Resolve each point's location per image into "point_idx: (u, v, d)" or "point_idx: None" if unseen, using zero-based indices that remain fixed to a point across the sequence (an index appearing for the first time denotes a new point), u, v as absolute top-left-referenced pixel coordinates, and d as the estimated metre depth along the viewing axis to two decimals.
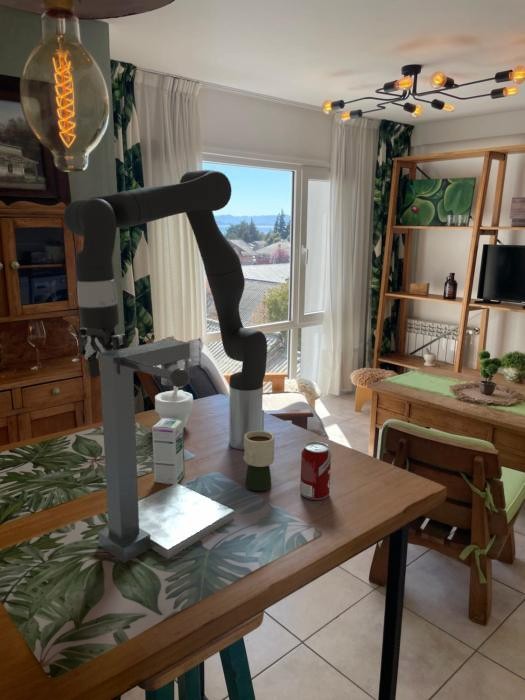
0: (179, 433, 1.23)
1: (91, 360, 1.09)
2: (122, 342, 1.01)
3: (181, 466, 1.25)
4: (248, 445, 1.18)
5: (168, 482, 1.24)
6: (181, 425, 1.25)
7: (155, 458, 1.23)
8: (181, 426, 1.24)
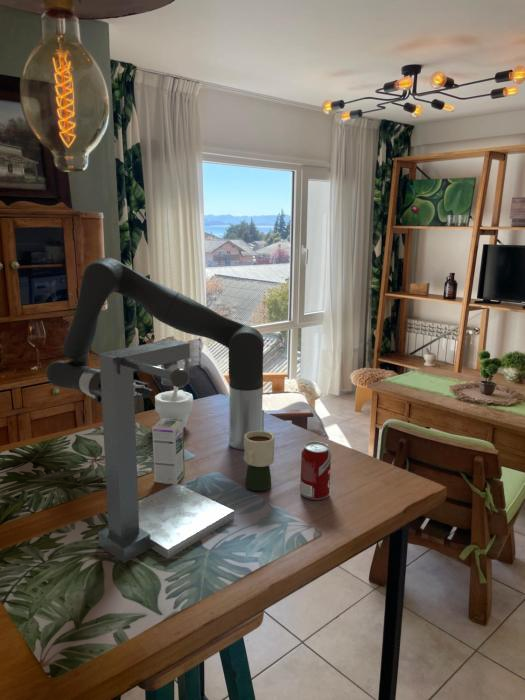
0: (179, 433, 1.23)
1: (141, 393, 1.34)
2: (93, 395, 1.29)
3: (181, 466, 1.25)
4: (248, 445, 1.18)
5: (168, 482, 1.24)
6: (181, 425, 1.25)
7: (155, 458, 1.23)
8: (181, 426, 1.24)
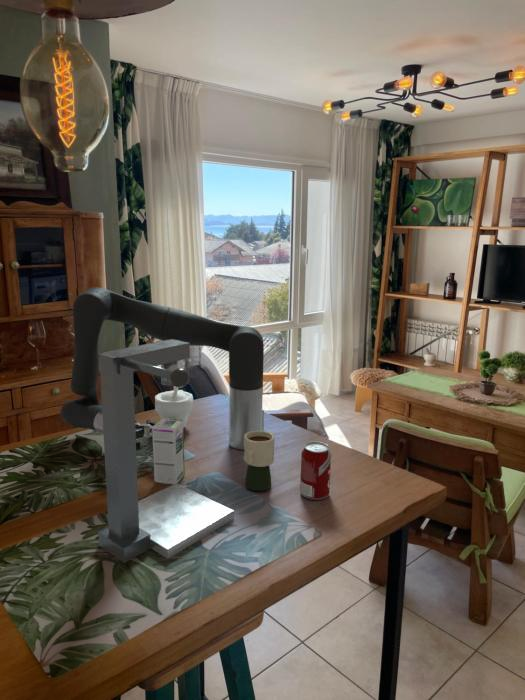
0: (179, 433, 1.23)
1: None
2: None
3: (181, 466, 1.25)
4: (248, 445, 1.18)
5: (168, 482, 1.24)
6: (181, 425, 1.25)
7: (155, 458, 1.23)
8: (181, 426, 1.24)
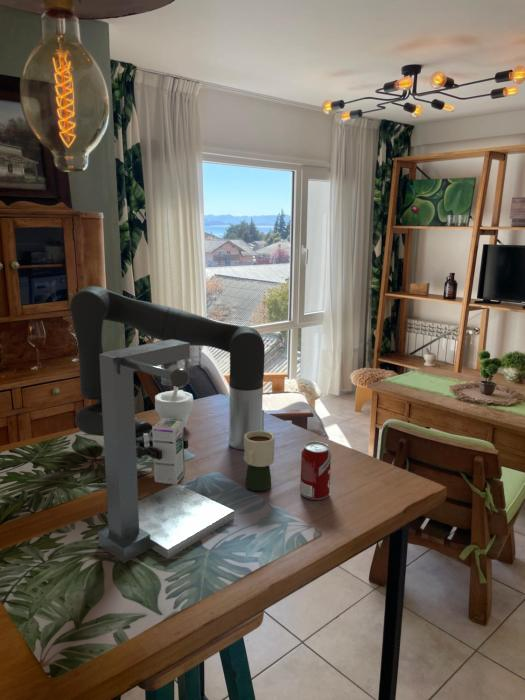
0: (179, 433, 1.23)
1: None
2: None
3: (181, 466, 1.25)
4: (248, 445, 1.18)
5: (168, 482, 1.24)
6: (181, 425, 1.25)
7: None
8: (181, 426, 1.24)
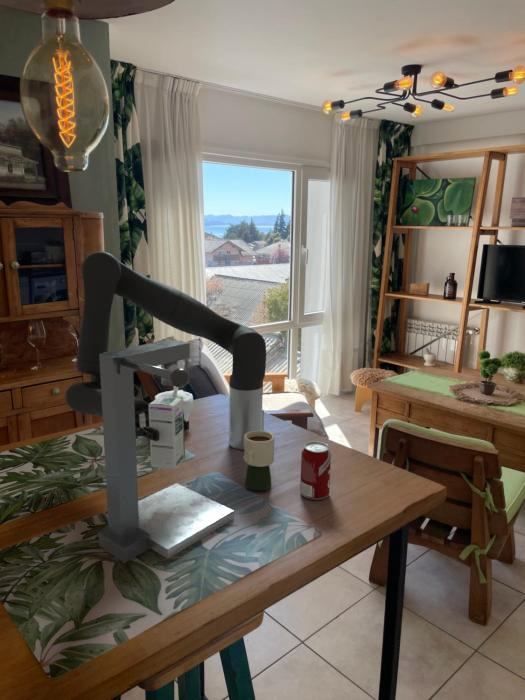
0: (178, 412, 1.09)
1: None
2: None
3: (181, 450, 1.12)
4: (248, 445, 1.18)
5: (166, 467, 1.10)
6: (182, 403, 1.11)
7: None
8: (181, 404, 1.11)
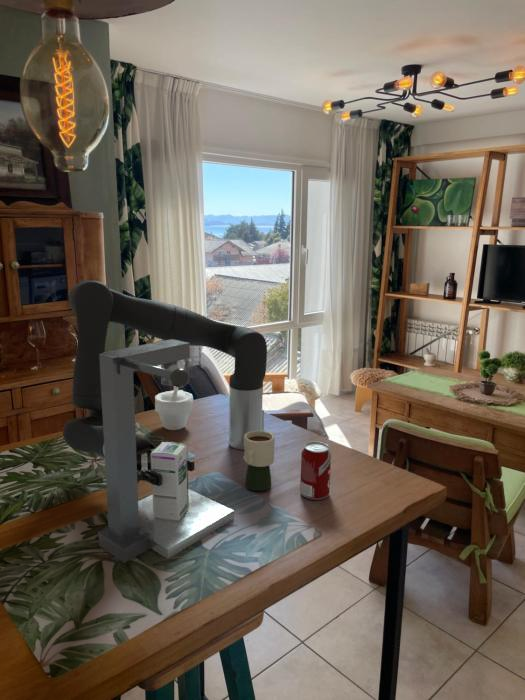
0: (182, 460, 1.04)
1: None
2: None
3: (184, 499, 1.07)
4: (248, 445, 1.18)
5: (169, 518, 1.05)
6: (185, 450, 1.06)
7: (154, 490, 1.04)
8: (185, 451, 1.06)
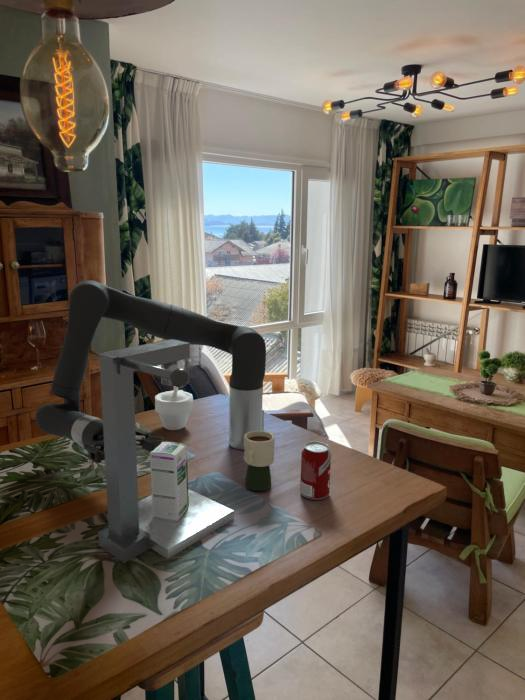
0: (181, 460, 1.04)
1: (141, 445, 1.18)
2: (86, 450, 1.13)
3: (184, 499, 1.07)
4: (248, 445, 1.18)
5: (168, 518, 1.05)
6: (185, 450, 1.06)
7: (153, 489, 1.04)
8: (184, 452, 1.06)
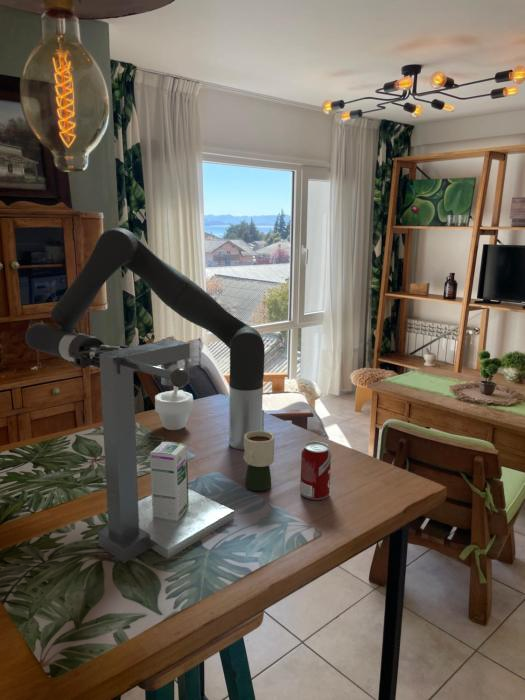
0: (181, 460, 1.04)
1: None
2: (72, 358, 1.17)
3: (184, 499, 1.07)
4: (248, 445, 1.18)
5: (168, 518, 1.05)
6: (185, 450, 1.06)
7: (153, 489, 1.04)
8: (184, 452, 1.06)
